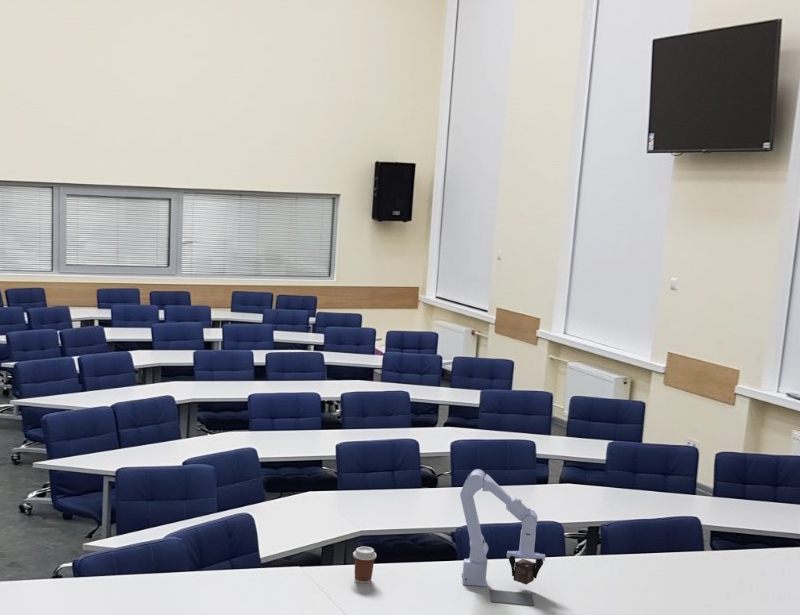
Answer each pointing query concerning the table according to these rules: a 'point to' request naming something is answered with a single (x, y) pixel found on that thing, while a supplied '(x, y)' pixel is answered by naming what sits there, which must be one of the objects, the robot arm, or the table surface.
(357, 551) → the coffee cup
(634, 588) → the table surface
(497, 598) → the desk mat
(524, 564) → the box
